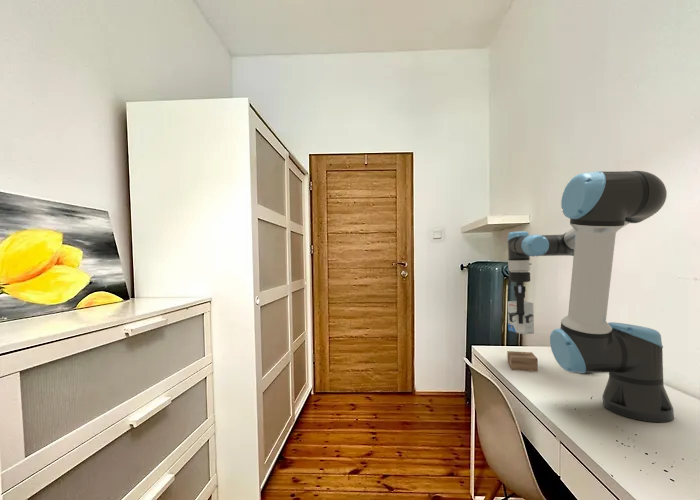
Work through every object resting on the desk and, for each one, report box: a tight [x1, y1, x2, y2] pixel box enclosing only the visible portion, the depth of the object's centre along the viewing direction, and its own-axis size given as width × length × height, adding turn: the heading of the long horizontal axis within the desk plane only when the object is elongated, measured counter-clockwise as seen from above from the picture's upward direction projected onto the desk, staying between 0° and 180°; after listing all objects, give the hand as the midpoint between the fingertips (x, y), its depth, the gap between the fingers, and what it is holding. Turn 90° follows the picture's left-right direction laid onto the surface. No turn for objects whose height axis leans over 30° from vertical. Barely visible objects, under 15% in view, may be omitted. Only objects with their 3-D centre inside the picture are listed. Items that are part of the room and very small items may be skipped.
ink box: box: [507, 300, 535, 335], centre depth 136 cm, size 8×5×12 cm, turn 17°
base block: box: [506, 350, 539, 373], centre depth 136 cm, size 9×9×5 cm
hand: (520, 329), depth 136 cm, fingers closed on ink box, 9 cm apart
